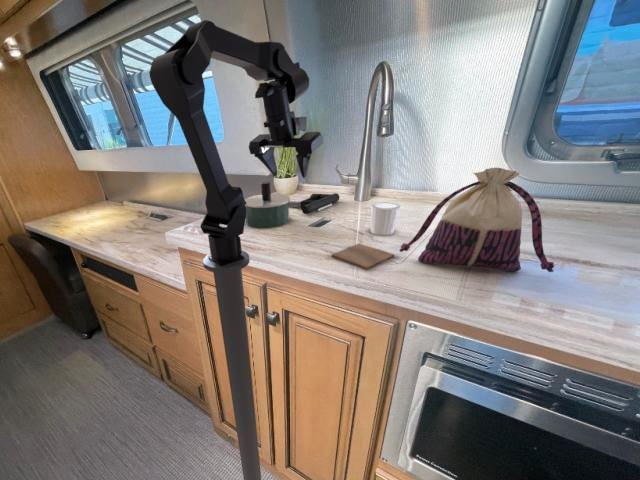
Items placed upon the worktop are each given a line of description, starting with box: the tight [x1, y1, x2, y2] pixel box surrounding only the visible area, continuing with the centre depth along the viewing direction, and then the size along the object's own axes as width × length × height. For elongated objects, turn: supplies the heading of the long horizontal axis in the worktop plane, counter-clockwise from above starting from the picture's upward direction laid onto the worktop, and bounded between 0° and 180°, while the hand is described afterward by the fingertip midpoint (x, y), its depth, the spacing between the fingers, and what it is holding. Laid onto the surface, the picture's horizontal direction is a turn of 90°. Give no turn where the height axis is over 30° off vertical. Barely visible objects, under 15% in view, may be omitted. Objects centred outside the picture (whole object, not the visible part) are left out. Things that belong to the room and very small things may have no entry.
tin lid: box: [244, 181, 291, 208], centre depth 95 cm, size 15×15×6 cm
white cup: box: [370, 201, 401, 236], centre depth 81 cm, size 7×7×7 cm
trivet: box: [331, 243, 396, 270], centre depth 70 cm, size 10×10×1 cm
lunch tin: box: [245, 202, 290, 229], centre depth 98 cm, size 14×14×6 cm
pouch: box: [398, 167, 555, 273], centre depth 58 cm, size 25×8×19 cm, turn 63°
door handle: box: [289, 192, 340, 215], centre depth 110 cm, size 3×20×16 cm
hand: (289, 176), depth 82 cm, fingers open, 9 cm apart
